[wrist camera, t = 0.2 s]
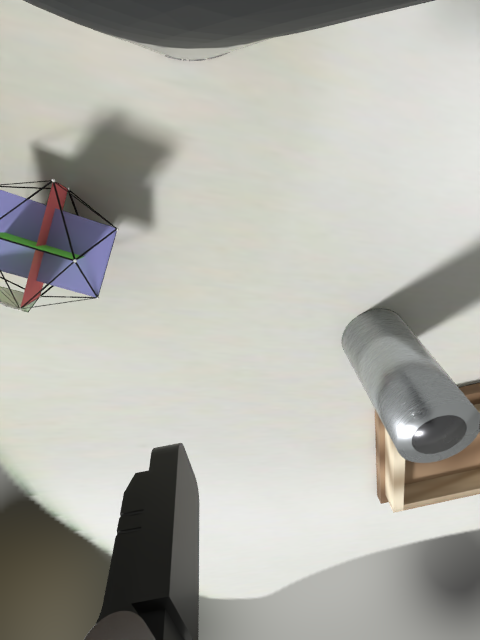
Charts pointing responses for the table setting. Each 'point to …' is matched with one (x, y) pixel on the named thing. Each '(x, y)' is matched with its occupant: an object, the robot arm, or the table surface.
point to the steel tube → (409, 388)
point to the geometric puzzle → (50, 247)
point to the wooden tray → (426, 470)
